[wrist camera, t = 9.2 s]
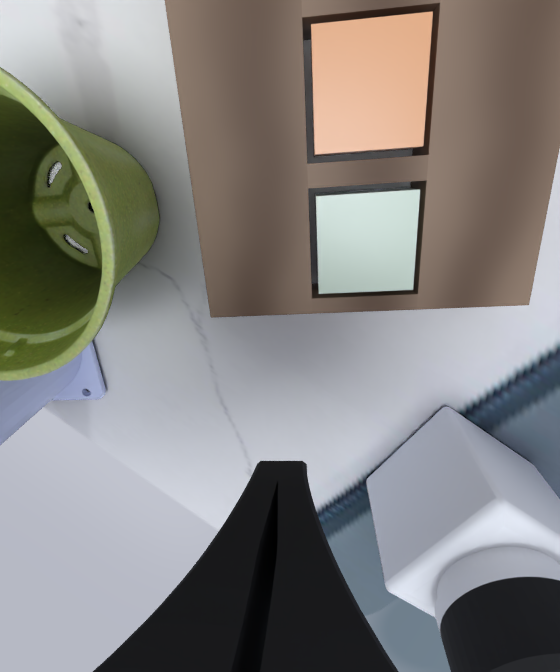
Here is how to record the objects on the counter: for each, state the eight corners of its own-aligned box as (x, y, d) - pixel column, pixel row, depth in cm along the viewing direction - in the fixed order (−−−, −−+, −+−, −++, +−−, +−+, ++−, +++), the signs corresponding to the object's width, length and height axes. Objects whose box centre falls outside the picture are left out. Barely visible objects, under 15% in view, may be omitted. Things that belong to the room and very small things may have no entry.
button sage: (317, 279, 19) (318, 293, 17) (315, 193, 17) (316, 196, 15) (400, 275, 19) (412, 289, 16) (405, 187, 17) (420, 189, 15)
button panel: (221, 300, 20) (210, 317, 18) (161, -162, 14) (131, -230, 11) (502, 288, 19) (528, 305, 17) (586, -227, 12) (650, -317, 10)
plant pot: (233, 186, 18) (173, 199, 10) (139, 333, 21) (37, 430, 13) (50, 43, 16) (-199, -80, 8) (-22, 227, 20) (-249, 266, 12)
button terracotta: (313, 156, 17) (314, 154, 15) (310, 45, 15) (310, 24, 13) (408, 149, 16) (423, 146, 14) (414, 34, 15) (432, 11, 13)
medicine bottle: (362, 478, 24) (408, 735, 13) (444, 401, 22) (585, 640, 11) (447, 530, 25) (553, 804, 14) (534, 463, 23) (743, 734, 12)
